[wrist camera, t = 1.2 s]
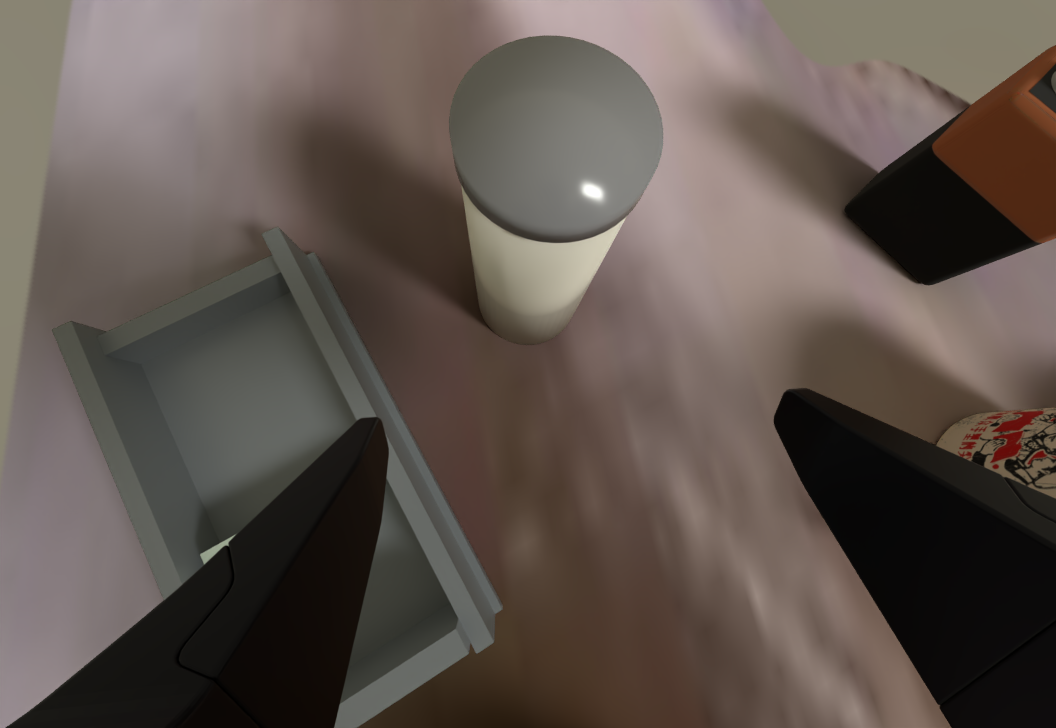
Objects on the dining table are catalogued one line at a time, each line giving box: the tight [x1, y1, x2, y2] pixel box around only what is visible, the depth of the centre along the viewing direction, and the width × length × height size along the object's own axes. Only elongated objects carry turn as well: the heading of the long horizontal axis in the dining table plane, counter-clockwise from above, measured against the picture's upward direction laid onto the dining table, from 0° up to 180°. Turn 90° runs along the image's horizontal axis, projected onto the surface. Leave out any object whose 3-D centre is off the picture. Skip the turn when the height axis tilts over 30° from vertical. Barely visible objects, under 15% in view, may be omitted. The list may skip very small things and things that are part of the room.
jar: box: [449, 36, 663, 345], centre depth 18 cm, size 6×6×13 cm
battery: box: [845, 45, 1056, 285], centre depth 21 cm, size 4×7×10 cm, turn 43°
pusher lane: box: [52, 227, 502, 728], centre depth 19 cm, size 20×11×5 cm, turn 30°
